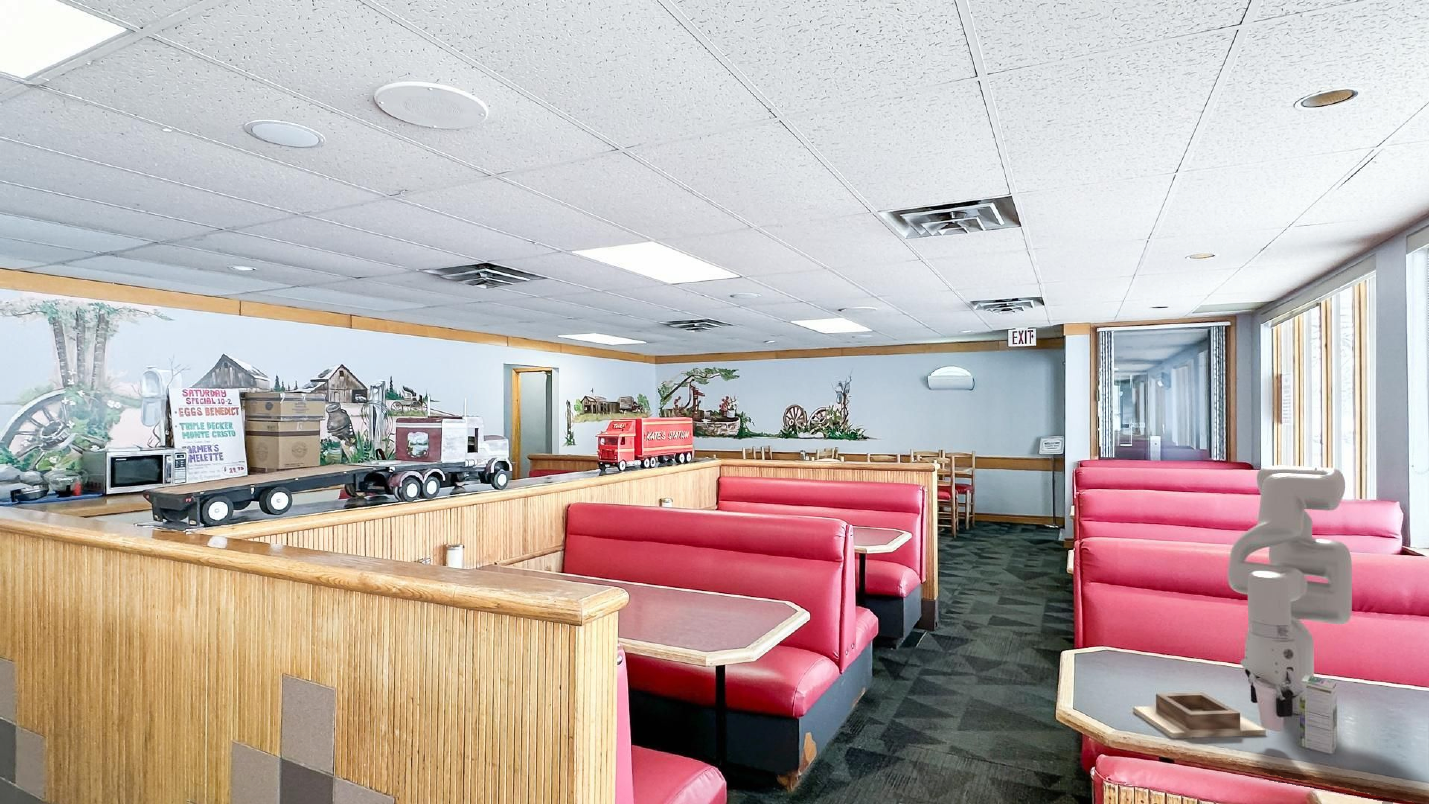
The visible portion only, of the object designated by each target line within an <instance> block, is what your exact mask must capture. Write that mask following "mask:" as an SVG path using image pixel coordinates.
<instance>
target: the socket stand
mask: <svg viewBox="0 0 1429 804" xmlns="http://www.w3.org/2000/svg"><path fill="white" fill-rule="evenodd" d="M1132 713H1134V714H1136V715H1137V716H1138V717H1140V718H1142V719H1143V720H1145V721H1146V722H1147V723H1149V724H1151V725H1152V726H1154V727H1155V728H1156V729H1157V730H1160V732H1162V731H1163V732H1162V733H1164V734H1165V735H1167V736H1168V737H1170V738H1171V739H1187V738H1188V739H1189V738H1192V737H1194V738H1217V737H1218V738H1219V737H1220V738H1221V737H1224V738H1225V737H1246V736H1251V737H1252V736H1253V737H1254V736H1267V733H1266V732H1267V731H1266V728H1264V727H1261V726H1260V725H1257V724H1256V723H1255V722H1252V721H1251V720H1249V719H1247V718H1246V717H1243V716H1242V715H1241V713H1240V712H1239V711H1237V710H1236V709H1233V708H1232V707H1230V706H1229V705H1226V704H1225V703H1223V702H1221V701H1219V700H1217V699H1216V698H1213V697H1212V696H1210V695H1208V694H1206V693H1205V692H1199V691H1198V692H1171V693H1167V692H1166V693H1155V705H1151V706H1145V705H1144V706H1132Z"/></svg>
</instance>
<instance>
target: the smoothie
mask: <svg viewBox="0 0 1429 804" xmlns="http://www.w3.org/2000/svg"><path fill="white" fill-rule="evenodd" d="M1283 684H1285V683H1283ZM1253 686H1254V687H1255V690H1256V696H1257V702H1258V703H1257V706H1258V707H1257V709H1258V712H1259V720H1260V725H1261V726H1262V728H1263V729H1265V730H1266V729H1267V730H1270V731H1272V732H1273V731H1274V732H1280V731H1283V727H1284V719H1285V717H1278V716H1277V714H1276V698H1279V697H1278V693H1277V690H1276V687H1275V684H1273V683H1271V682H1269V681H1266V680H1264V679H1262V678H1258V679H1254V680H1253ZM1282 689H1283V692H1285V691H1286V687H1282Z"/></svg>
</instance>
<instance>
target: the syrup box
mask: <svg viewBox="0 0 1429 804" xmlns="http://www.w3.org/2000/svg"><path fill="white" fill-rule="evenodd" d="M1300 684H1301V685H1302V687H1303V689H1304V691H1303V692H1301V693H1300V714H1299V746H1300V747H1302V748H1306V749H1309V748H1310V750H1314V751H1318V752H1321V753H1326V754H1330V755H1334V754H1335V751H1336V748H1337V746H1338V682H1336V681H1334V680H1331V679H1327V678H1322V677H1319V676H1315V675H1314V676H1307V675H1305V676H1304V678H1303V679H1302V680H1301V682H1300Z"/></svg>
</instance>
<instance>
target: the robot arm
mask: <svg viewBox="0 0 1429 804" xmlns="http://www.w3.org/2000/svg"><path fill="white" fill-rule="evenodd" d="M1256 484H1257V488H1258V491H1259V493H1260V501H1259V509H1258V510H1259V511H1258V515H1257V516H1258V520H1257V524H1256V525H1255V526H1253V527H1251V528H1249V529H1248V530H1247V531H1245V532H1244V533H1243V534H1241V536H1239V538H1238V539H1237V540H1236V541H1235V542H1234V543H1233V546H1232V548H1231V550H1230V555H1229V560H1228V561H1229V562H1228V567H1227V581H1228V585H1229V587H1230V589H1231V590H1233V591H1235V592H1236V593H1239V594H1243V595H1247V617H1248V618H1247V619H1248V629H1247V633H1246V638H1245V639H1246V640H1245V646H1244V658H1243V659H1241V660H1240V664H1241V666H1242V668H1243V669H1244V673H1245V675H1246V676H1247V678H1248V680H1247V681H1248V684H1250V702H1251V703H1253V704H1258V702H1257V696H1256V690H1255V687H1254V686H1253V680H1254V679H1258V678H1262V679H1264V680H1266V681H1269V682H1271V683H1273V684H1275V687H1276V690H1277V693H1278V697H1279V698H1276V714H1277V716H1278V717H1284V718H1287V717H1288V718H1291V717H1293V716H1294V714H1295V715H1300V693H1301V692H1303V691H1304V689H1303V687H1302V685H1301V684H1300V682H1301V680H1302V679H1303V678H1304V676H1305V675H1307V676H1314V677H1315V667H1314V665H1315V664H1314V659H1315V658H1314V657H1315V654H1314V653H1315V652H1314V638H1313V637H1314V636H1312V633H1311V632H1310V630H1309V629H1308V627H1306V625H1305V624H1304V623H1303V622H1302V621H1301V620H1304V621H1312V622H1319V623H1325V624H1330V625H1331V624H1333V625H1346V624H1347V623H1348V622H1349V621H1350V619H1351V616H1352V611H1353V610H1352V608H1353V606H1352V605H1353V602H1352V601H1353V597H1352V595H1353V594H1352V593H1353V592H1352V591H1353V586H1352V585H1353V574H1352V573H1353V566H1352V555H1351V552H1350V550H1349V548H1348V547H1347V545H1346V544H1344V543H1343V542H1341V541H1338V540H1333V539H1324V538H1315V537H1313V518H1312V517H1311V515H1309V513H1308V512H1307V511H1306V510H1315V511H1325V512H1326V511H1328V512H1329V511H1330V512H1332V511H1335V510H1336V509H1337V508H1338V507H1339V505H1340V503H1341V501H1342V499H1343V497H1344V494H1345V491H1346V481H1345V477H1344V475H1343V473H1342V472H1341V471H1340V470H1339V469H1337V468H1333V467H1320V466H1319V467H1316V466H1315V467H1314V466H1298V465H1297V466H1296V465H1270V466H1266V467H1262V468H1261V469H1259V470H1258V472H1257V473H1256ZM1265 548H1268V558H1269V559H1268V560H1269V563H1263V562H1255V561H1254V562H1252V561H1246V560H1247V558H1248V557H1249V556H1250V555H1252V554H1253V553H1255V552H1256V551H1259V550H1263V549H1265ZM1307 577H1313V578H1320V579H1324V580H1325V581H1327V582H1321V581H1313V580H1307ZM1283 683H1285V684H1283ZM1282 687H1286V691H1285V692H1283V689H1282Z"/></svg>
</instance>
